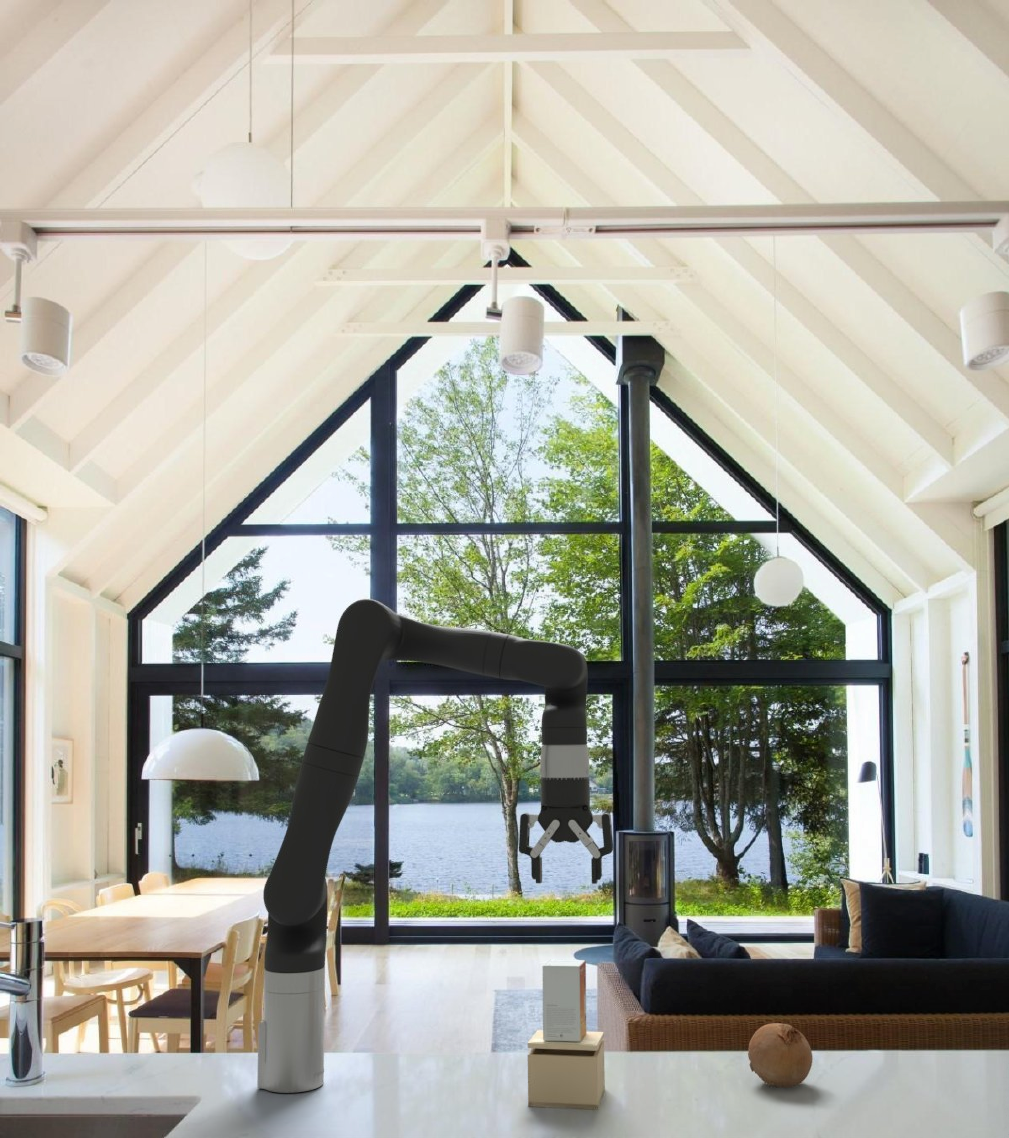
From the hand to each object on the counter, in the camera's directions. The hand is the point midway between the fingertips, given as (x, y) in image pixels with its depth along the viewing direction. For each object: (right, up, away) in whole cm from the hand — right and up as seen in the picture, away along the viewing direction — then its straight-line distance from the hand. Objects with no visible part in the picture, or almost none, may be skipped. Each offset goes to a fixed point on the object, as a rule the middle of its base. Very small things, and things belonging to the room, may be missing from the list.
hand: (566, 883), depth 181 cm
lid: (0, -22, -6) cm, 23 cm away
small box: (-1, -21, -6) cm, 22 cm away
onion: (+32, -30, -2) cm, 44 cm away
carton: (0, -29, -7) cm, 30 cm away
